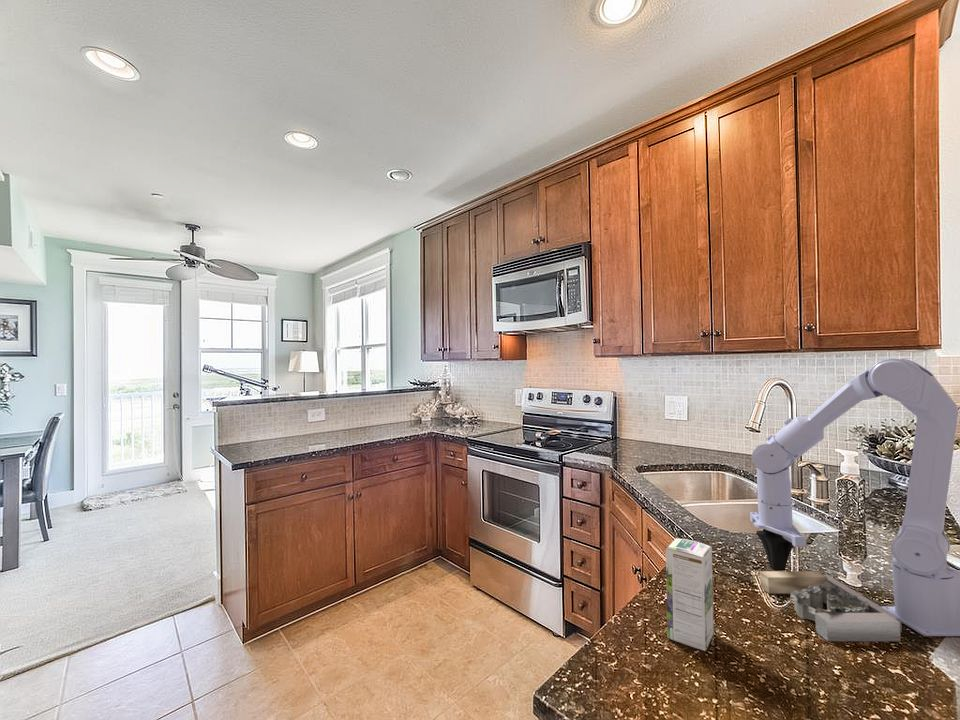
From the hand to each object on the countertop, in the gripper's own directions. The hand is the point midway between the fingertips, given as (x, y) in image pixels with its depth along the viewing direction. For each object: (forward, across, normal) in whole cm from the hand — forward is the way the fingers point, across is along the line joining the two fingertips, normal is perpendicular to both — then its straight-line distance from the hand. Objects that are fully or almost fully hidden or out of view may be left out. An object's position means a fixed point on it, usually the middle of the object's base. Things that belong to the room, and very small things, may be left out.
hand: (777, 569), depth 87 cm
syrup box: (+2, +19, -26) cm, 33 cm away
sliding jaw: (+2, +5, 0) cm, 5 cm away
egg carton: (+2, +13, 0) cm, 13 cm away
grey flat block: (+2, +11, +1) cm, 12 cm away
